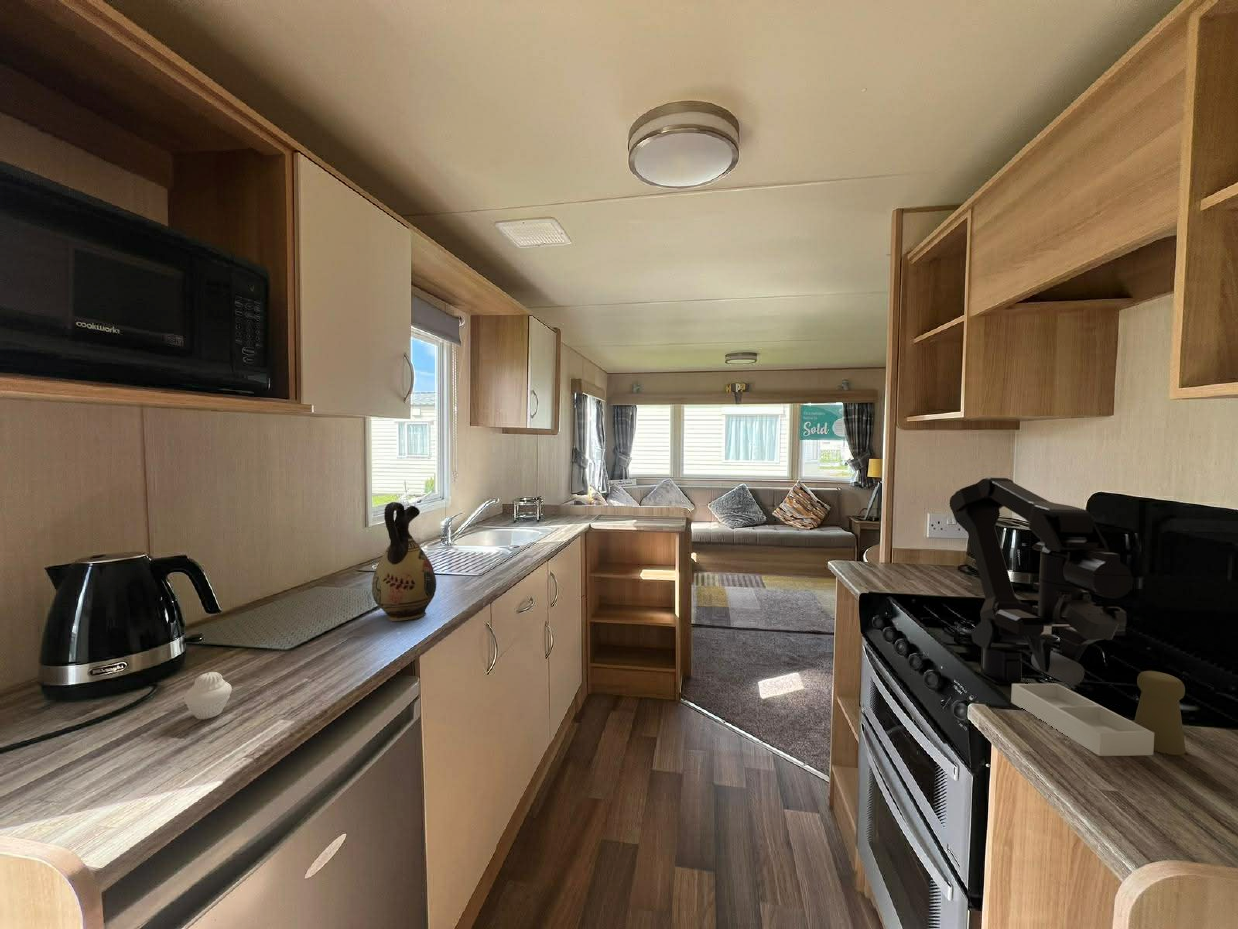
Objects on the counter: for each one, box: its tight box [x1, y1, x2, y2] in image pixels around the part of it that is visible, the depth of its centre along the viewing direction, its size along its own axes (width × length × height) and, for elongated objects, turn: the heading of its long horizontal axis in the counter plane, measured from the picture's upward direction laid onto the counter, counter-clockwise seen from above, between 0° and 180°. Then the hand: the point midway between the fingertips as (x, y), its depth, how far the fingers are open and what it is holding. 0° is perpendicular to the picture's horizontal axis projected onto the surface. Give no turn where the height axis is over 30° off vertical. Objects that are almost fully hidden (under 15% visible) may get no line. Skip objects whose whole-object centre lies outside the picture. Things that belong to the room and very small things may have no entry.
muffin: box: [183, 671, 232, 720], centre depth 86 cm, size 6×6×7 cm
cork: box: [1133, 670, 1187, 756], centre depth 81 cm, size 6×6×11 cm
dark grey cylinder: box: [1030, 650, 1085, 686], centre depth 90 cm, size 6×4×4 cm, turn 3°
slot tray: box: [1010, 682, 1154, 757], centre depth 86 cm, size 16×8×3 cm, turn 3°
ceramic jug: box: [371, 501, 437, 622], centre depth 135 cm, size 17×15×30 cm
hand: (1056, 671), depth 90 cm, fingers closed on dark grey cylinder, 4 cm apart
